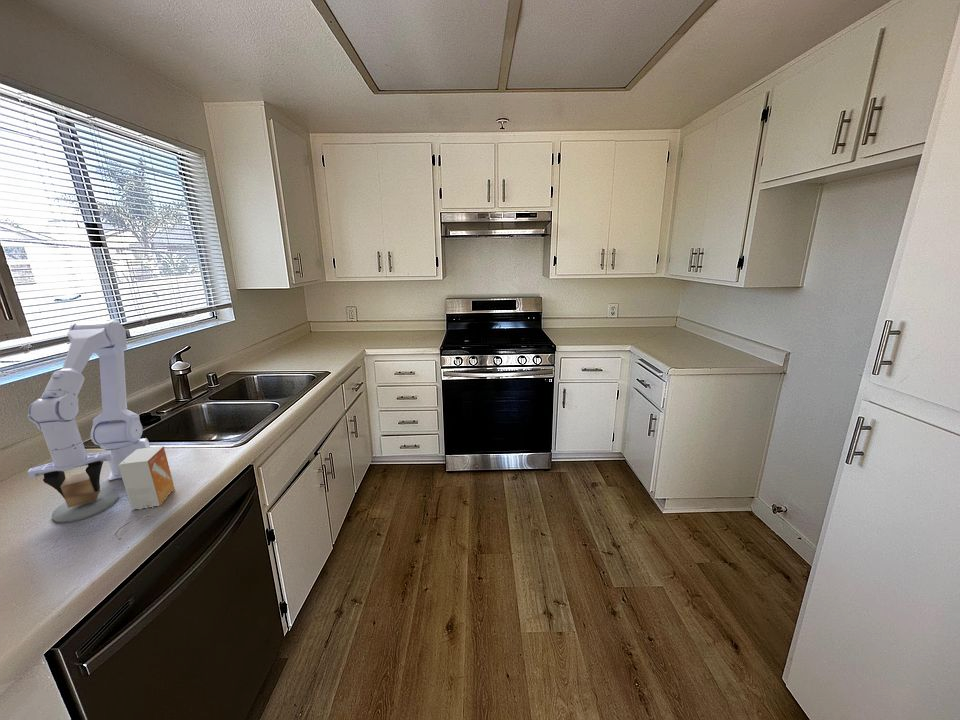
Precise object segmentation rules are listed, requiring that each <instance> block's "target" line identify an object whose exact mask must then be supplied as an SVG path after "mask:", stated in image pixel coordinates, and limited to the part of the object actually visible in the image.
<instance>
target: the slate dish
mask: <svg viewBox="0 0 960 720" xmlns="http://www.w3.org/2000/svg"><path fill="white" fill-rule="evenodd" d="M119 498H120V496H119V493H118V491H117V490H116V489H112V488H104V489H100V493H99V495H98V497H97V499H96V501H93V502H89V503H85V504H81V505H77V506H74V507H70V508H68V506H67V503H66V501H65V502H63V503H61V504H60V505H58V506H57V507H56V508H55V509H54V510H53V511H52V513H51V516H52V520H53V521H54V522H56V523H61V524H62V523H65V524H66V523H72V522H74V523H75V522H77V521H81V520H85V519H87V518H90V517H93V516H96V515H98V514H100V513H102V512H104V511H106V510H107V508H108V509H110V508H111V507H112V506H114V505H115V504H116V503H117V502H118V500H119ZM110 506H111V507H110ZM105 509H106V510H105Z"/></svg>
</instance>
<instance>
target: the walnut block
mask: <svg viewBox="0 0 960 720" xmlns="http://www.w3.org/2000/svg"><path fill="white" fill-rule="evenodd" d="M65 478H66V479H65V480H64V482H63V483H62V485H61V486H60V487H61V490H62V492H63V495H64V497H63V499H64V498H65V499H64V500H65V502H66V503H67V506H68V508H70V507H74V506H77V505H81V504H85V503H89V502H93V501H96V499H97V497H98V495H99V493H100V490H101V488H100V489H99V491H97V492H95V490H94V488H93V485H92V483H91V480H90V478H89V476H88V474H87V473H86V471H85V472H82V473H77V474H73V475H69V476H65Z"/></svg>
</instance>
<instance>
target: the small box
mask: <svg viewBox="0 0 960 720" xmlns="http://www.w3.org/2000/svg"><path fill="white" fill-rule="evenodd" d="M118 466H119V470H120V473H121V476H122V478H121V479H122V482H123V485H124V489H125V493H126V496H127V499H128V503H129V505H130V510H131V511H135V510H134V509H139V510H142V509H141V508H146V507H152V508H154V507H153V506H158V507H160V506H159V505H161V506H162V504H163V503H164V502H165V501H166V499H167V498H168V497H169V496H170V495H169V493H172V492H173V491H174V490H175V489H174V488H175V485H174V482H173V481H174V480H173V477H172V473H171V470H170V465H169V461H168V457H167V454H166V450H165V446H163V445H162V446H154V447H153V446H152V447H151V446H150V448H143V449H136V450H135V451H134V452H133V453H132V454H130V455H129V456H128V457H126V458H125V459H124V460H123V461H122V462H121V463H120V464H119V465H118ZM173 489H174V490H173ZM172 490H173V491H172ZM171 491H172V492H171ZM168 495H169V496H168ZM167 496H168V497H167ZM166 497H167V498H166ZM165 498H166V499H165ZM164 500H165V501H164ZM163 501H164V502H163ZM162 502H163V503H162ZM161 503H162V504H161ZM146 509H147V508H146Z"/></svg>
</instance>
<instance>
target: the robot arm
mask: <svg viewBox="0 0 960 720" xmlns="http://www.w3.org/2000/svg"><path fill="white" fill-rule="evenodd" d="M126 331H127V329H126V328H125V327H124V326H123V325H122V324H121V322H119V321H118V320H115V319H112V320H111V319H110V320H105V321H104V320H102V321H82V322H81V321H75V322H73V323H72V324H71V325H70V327H69V329H68V332H67V337H68V340H69V342H70V345H69V348H68V351H67V354H66V357H65V360H64V363H63V365H62V367H61V369H59V370H55V371H54V372H53V373H52V374H51V376H50V379H49V381H48V382H47V384H46V386H45V388H44V391H43V393H42V394H41V396H40V398H38V399H36V400H34V402H31V404H30V405H29V406H28V410H27V412H28V414H27V418H28V420H29V421H30V422H31V423H33V424H35V426H36V428H37V430H39V431H40V432H41V433H42V435H43V437H44V440H45V444H46V445H47V448H48V449H47V450H48V451H49V454H50V456H51V459H52V461H51V462H49V463H45V464H41V465H39V466H35V467H31V468H29V469H28V471H27V475H28V477H29V480H32V479H36V478H38V477H40V476H43V479H42V480H43V482H44V483H45V484H46V485H48V486H50V487H52V488H53V489H55V490H56V491H57V492H58V493H59V494H60V496H61V497H63V499H64V500H65V498H64V495H63V492H62V490H61V487H60V486H61V485H62V483H63V482H64V480H65V479H66V474H65V472H67V471H71V470H73V469H76V468H81V467H84V466H87V467H86V469H85V472H86V473H87V474H88V476H89V478H90V480H91V483H92V485H93V488H94V490H95V492H97V491H99V489H100V490H101V485H100V481H101V480H100V478H101V477H100V476H101V472H102V467H103V464H104V462H108V465H109V468H110V473H109V476H108V478H107V480H108V481H109V482H110V481H113V480H117V479H122V476H121V473H120V470H119V466H118V465H119V464H120V463H121V462H122V461H123V460H124V459H125V458H126V457H128V456H129V455H130V454H132V453H133V452H134V451H135V450H136V449H143V448H151V445H150V442H149V440H148V438H147V437H145V438H144V437H143V438H141V437H142V435H143V431H144V429H143V425H142V423H141V420H140V415H139V414H137V413H135V412H133V411H131V410H129V409H128V404H127V403H128V402H127V398H128V397H127V385H126V368H125V355H124V354H125V353H124V352H125V351H127V348H128V347H127V343H128V342H127V332H126ZM93 354H96V356H98V358H99V359H98V361H99V375H100V378H99V379H100V392H101V393H100V395H101V408H102V409H101V411H102V412H100V413H99V414H98V415H97V416H95V417H94V418H93V420H92V428H91V430H90V439H91V441H92V443H94V445H96V446H99V447H100V449H104V451H102V452H94V453H87V451H86V448H85V445H84V442H83V439H82V436H81V433H80V430H79V427H78V424H77V421H76V417H77V415H78V413H79V410H80V408H79V401H80V400H79V397H78V395H79V394H80V391H81V389H82V387H83V384H84V382H85V380H86V378H85V376H84V375H83V373H82V372H83V371H84V369H85V367H86V366H87V364H88V362H89V361H90V359H91V357H92V355H93Z"/></svg>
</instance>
